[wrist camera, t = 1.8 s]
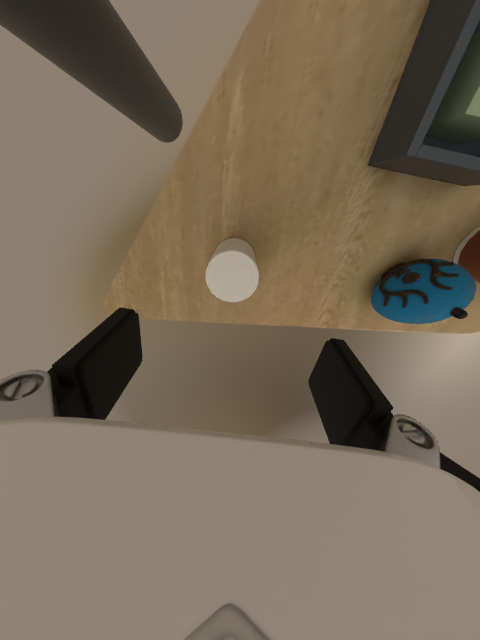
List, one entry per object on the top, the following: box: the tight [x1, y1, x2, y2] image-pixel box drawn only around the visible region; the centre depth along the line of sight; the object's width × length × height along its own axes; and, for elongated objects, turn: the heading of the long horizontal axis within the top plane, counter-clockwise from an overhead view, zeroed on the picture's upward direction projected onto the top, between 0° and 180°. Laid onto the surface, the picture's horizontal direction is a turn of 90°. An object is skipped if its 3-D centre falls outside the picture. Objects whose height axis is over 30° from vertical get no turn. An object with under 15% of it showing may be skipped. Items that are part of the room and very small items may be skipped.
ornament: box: [371, 259, 476, 324], centre depth 22 cm, size 8×5×10 cm, turn 132°
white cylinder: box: [206, 238, 259, 302], centre depth 22 cm, size 5×5×7 cm
